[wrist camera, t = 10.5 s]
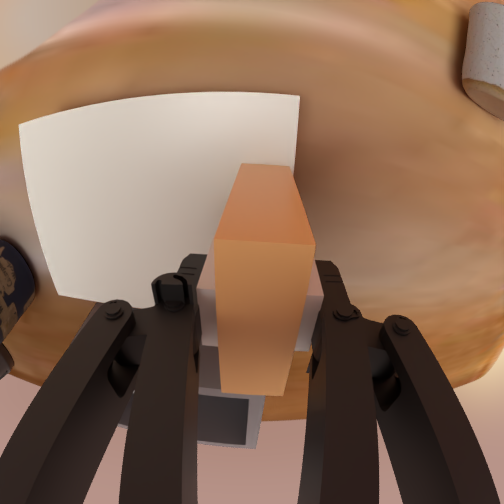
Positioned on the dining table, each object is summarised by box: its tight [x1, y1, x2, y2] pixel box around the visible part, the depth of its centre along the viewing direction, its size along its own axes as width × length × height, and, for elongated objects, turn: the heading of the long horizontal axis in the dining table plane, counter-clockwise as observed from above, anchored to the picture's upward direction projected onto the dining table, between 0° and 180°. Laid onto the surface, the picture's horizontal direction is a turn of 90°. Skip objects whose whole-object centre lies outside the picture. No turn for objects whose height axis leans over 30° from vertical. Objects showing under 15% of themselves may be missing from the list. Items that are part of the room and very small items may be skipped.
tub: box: [70, 302, 266, 449], centre depth 26 cm, size 18×14×8 cm
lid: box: [19, 92, 316, 396], centre depth 14 cm, size 19×15×11 cm
